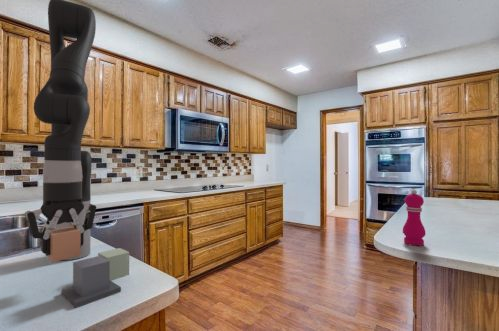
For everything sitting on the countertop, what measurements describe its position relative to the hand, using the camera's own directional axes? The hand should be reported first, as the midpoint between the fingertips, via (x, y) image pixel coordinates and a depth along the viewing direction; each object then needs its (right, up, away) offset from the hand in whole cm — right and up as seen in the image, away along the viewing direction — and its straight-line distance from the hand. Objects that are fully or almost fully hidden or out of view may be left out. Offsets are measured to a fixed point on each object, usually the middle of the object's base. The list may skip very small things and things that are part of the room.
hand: (63, 250), depth 63 cm
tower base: (+9, -8, -3) cm, 12 cm away
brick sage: (+9, -9, +7) cm, 14 cm away
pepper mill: (+105, -9, +36) cm, 111 cm away
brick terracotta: (0, -1, 0) cm, 1 cm away
